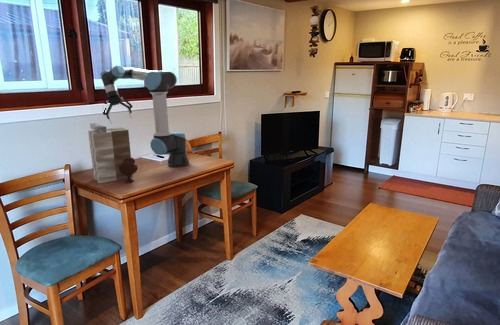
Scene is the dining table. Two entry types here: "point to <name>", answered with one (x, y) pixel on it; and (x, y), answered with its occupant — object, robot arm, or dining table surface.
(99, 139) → the wooden block tower
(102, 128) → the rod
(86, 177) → the dining table surface
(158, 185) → the dining table surface
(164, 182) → the dining table surface
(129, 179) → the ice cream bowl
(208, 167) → the dining table surface
